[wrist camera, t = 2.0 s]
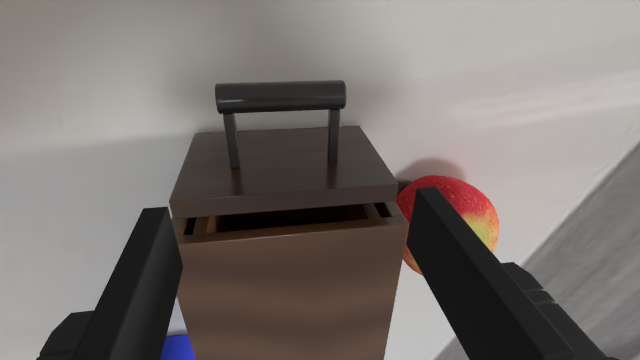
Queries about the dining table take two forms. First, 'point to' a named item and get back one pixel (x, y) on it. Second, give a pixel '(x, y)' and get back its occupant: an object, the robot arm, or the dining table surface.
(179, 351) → the mug
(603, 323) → the dining table surface
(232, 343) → the cabinet
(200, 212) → the drawer
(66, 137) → the dining table surface
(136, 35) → the dining table surface
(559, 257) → the dining table surface
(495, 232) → the apple
